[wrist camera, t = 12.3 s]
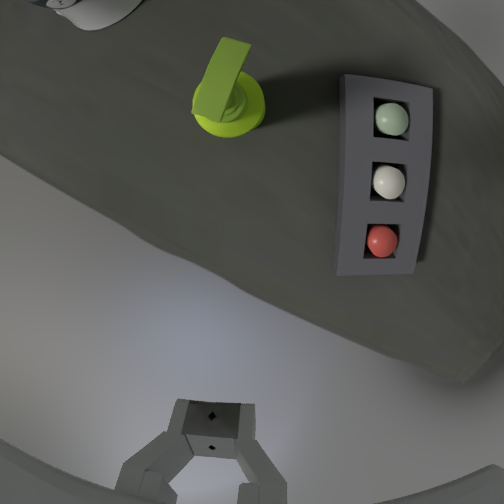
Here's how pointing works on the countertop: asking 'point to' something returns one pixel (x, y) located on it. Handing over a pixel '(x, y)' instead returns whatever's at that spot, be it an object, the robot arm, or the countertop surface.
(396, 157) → the console
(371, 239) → the button red
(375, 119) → the button sage
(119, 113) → the countertop surface
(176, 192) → the countertop surface
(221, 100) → the soap dispenser
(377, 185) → the button cream
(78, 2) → the robot arm
